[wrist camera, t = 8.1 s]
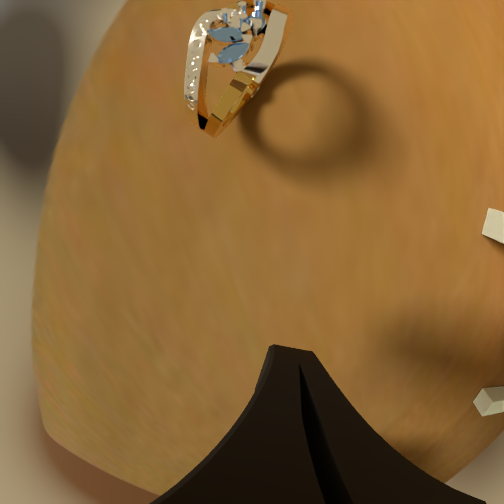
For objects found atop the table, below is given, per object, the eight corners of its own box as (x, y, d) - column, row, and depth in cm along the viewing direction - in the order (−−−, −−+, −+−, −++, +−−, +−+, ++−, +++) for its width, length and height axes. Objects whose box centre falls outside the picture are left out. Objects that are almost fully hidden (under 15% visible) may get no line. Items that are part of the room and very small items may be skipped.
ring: (261, 35, 13) (253, -46, 6) (307, 61, 14) (333, -11, 6) (192, 123, 15) (129, 92, 8) (238, 152, 16) (208, 138, 8)
